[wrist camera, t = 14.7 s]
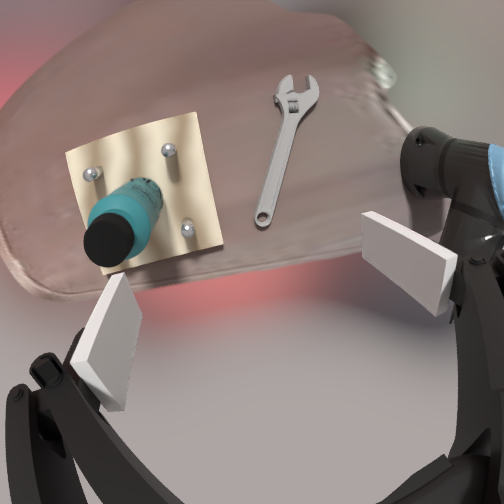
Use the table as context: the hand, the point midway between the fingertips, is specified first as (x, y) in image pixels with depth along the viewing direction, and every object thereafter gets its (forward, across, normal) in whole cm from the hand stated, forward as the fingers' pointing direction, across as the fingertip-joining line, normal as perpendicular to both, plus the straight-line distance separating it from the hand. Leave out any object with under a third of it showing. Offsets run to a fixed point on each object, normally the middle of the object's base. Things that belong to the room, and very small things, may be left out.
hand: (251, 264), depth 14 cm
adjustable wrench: (+29, -10, -4) cm, 31 cm away
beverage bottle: (+27, +10, -1) cm, 29 cm away
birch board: (+28, +11, -1) cm, 30 cm away
